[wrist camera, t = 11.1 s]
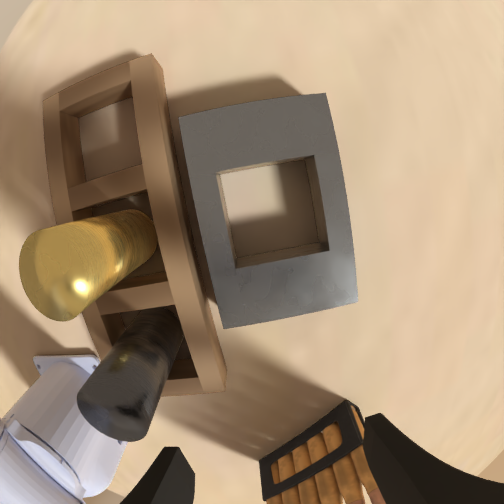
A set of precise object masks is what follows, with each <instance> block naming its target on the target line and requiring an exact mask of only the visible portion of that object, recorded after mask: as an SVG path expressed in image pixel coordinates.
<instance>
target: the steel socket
mask: <svg viewBox="0 0 504 504" xmlns="http://www.w3.org/2000/svg"><path fill="white" fill-rule="evenodd" d="M178 118H179V124H180V130H181V136H182V142H183V147H184V153H185V158H186V163H187V169H188V174H189V179H190V184H191V189H192V194H193V199H194V204H195V209H196V214H197V218H198V223H199V228H200V232H201V237H202V241H203V246H204V250H205V255H206V259H207V263H208V268H209V272H210V276H211V280H212V285H213V289H214V293H215V297H216V301H217V305H218V309H219V313H220V317H221V321H222V325H223V329H228V328H234V327H240V326H246V325H252V324H257V323H263V322H268V321H273V320H279V319H284V318H289V317H294V316H298V315H303V314H308V313H313V312H317V311H322V310H326V309H331V308H335V307H339V306H343V305H348V304H352V303H356V302H358V292H357V279H356V268H355V257H354V248H353V239H352V231H351V223H350V215H349V208H348V201H347V195H346V189H345V183H344V177H343V171H342V166H341V160H340V155H339V150H338V145H337V140H336V135H335V131H334V126H333V122H332V117H331V113H330V109H329V105H328V101H327V97H326V93H320V94H309V95H298V96H289V97H281V98H274V99H267V100H260V101H254V102H248V103H242V104H236V105H231V106H226V107H221V108H216V109H212V110H207V111H203V112H198V113H194V114H190V115H186V116H182V117H178ZM298 160H305V163H306V168H307V173H308V179H309V184H310V190H311V196H312V202H313V208H314V214H315V220H316V227H317V233H318V240H319V243H313V244H308V245H303V246H298V247H293V248H287V249H282V250H277V251H272V252H266V253H261V254H256V255H251V256H246V257H240V258H237V257H236V252H235V247H234V242H233V238H232V233H231V228H230V223H229V218H228V213H227V208H226V203H225V198H224V193H223V188H222V183H221V178H220V175H221V174H225V173H230V172H235V171H240V170H246V169H251V168H256V167H262V166H268V165H273V164H279V163H286V162H292V161H298Z"/></svg>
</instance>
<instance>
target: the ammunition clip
mask: <svg viewBox="0 0 504 504" xmlns="http://www.w3.org/2000/svg"><path fill="white" fill-rule="evenodd" d="M364 427H365V422H364V420H363V417H362V415H361V412H360V410H359V408H358V407H357V406H355V405H354V404H352V403H351V402H349V401H348V400H346V401H344V402H342V403H341V404H340V405H339V406H337V407H336V408H335V409H334V410H332V411H331V412H330V413H328V414H327V415H326V416H324V417H323V418H322V419H321V420H319V421H318V422H316V423H315V424H314V425H312V426H311V427H310V428H308V429H307V430H305V431H304V432H303V433H301V434H300V435H298V436H297V437H295V438H294V439H292V440H291V441H289V442H288V443H286V444H285V445H283V446H282V447H280V448H279V449H277V450H275V451H274V452H272V453H271V454H269V455H267V456H266V457H264V458H262V459H261V460H259V465H260V476H261V486H262V496H263V501H266V502H267V504H343V498H344V500H345V503H346V504H365V499H364V496H363V491H362V484H363V485H364V487H365V489H366V491H367V493H368V495H369V497H370V500H371V502H372V504H386V503H385V501H384V499H383V497H382V494H381V492H380V490H379V488H378V486H377V484H376V482H375V480H374V478H373V475H372V473H371V471H370V469H369V466H368V463H367V460H366V457H365V454H364V450H363V438H364ZM342 496H343V498H342Z"/></svg>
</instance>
